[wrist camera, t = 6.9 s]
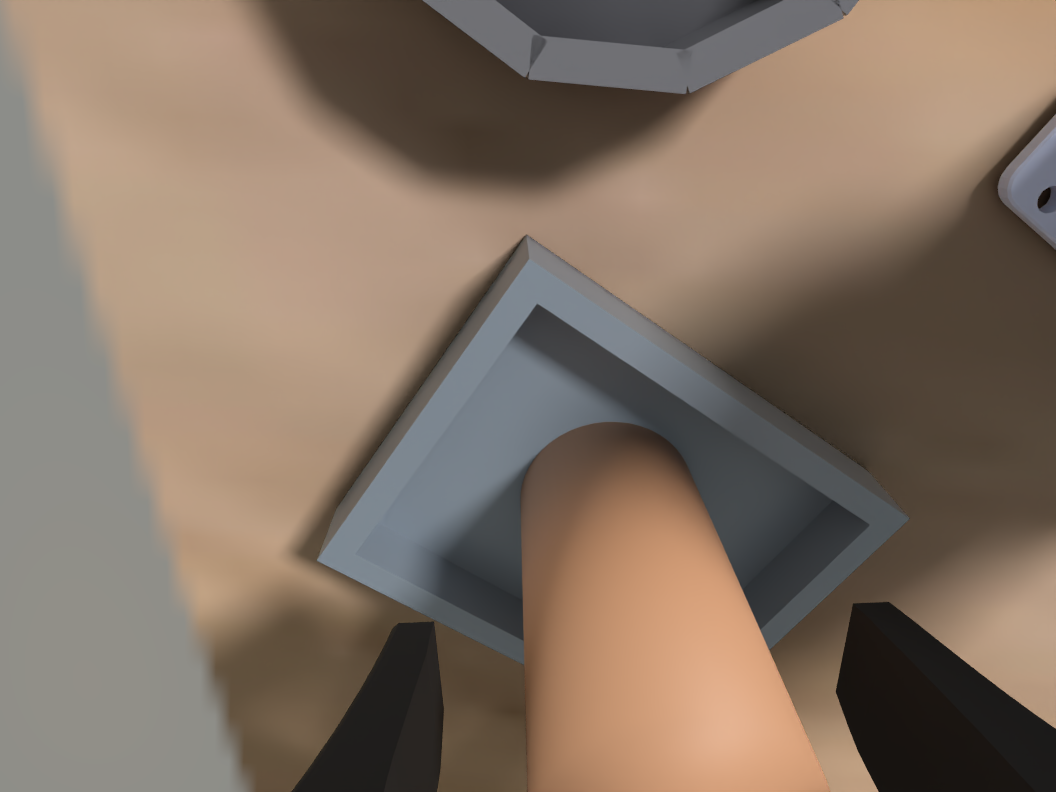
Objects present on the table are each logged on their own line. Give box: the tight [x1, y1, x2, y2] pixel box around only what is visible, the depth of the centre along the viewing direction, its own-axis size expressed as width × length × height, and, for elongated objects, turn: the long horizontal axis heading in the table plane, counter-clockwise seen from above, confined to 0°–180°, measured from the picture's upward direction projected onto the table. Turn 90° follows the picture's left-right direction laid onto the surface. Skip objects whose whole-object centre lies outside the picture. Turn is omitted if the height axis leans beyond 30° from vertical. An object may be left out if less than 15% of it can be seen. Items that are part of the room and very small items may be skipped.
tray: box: [317, 235, 910, 665], centre depth 17 cm, size 10×8×2 cm
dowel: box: [520, 422, 830, 792], centre depth 13 cm, size 4×4×8 cm
